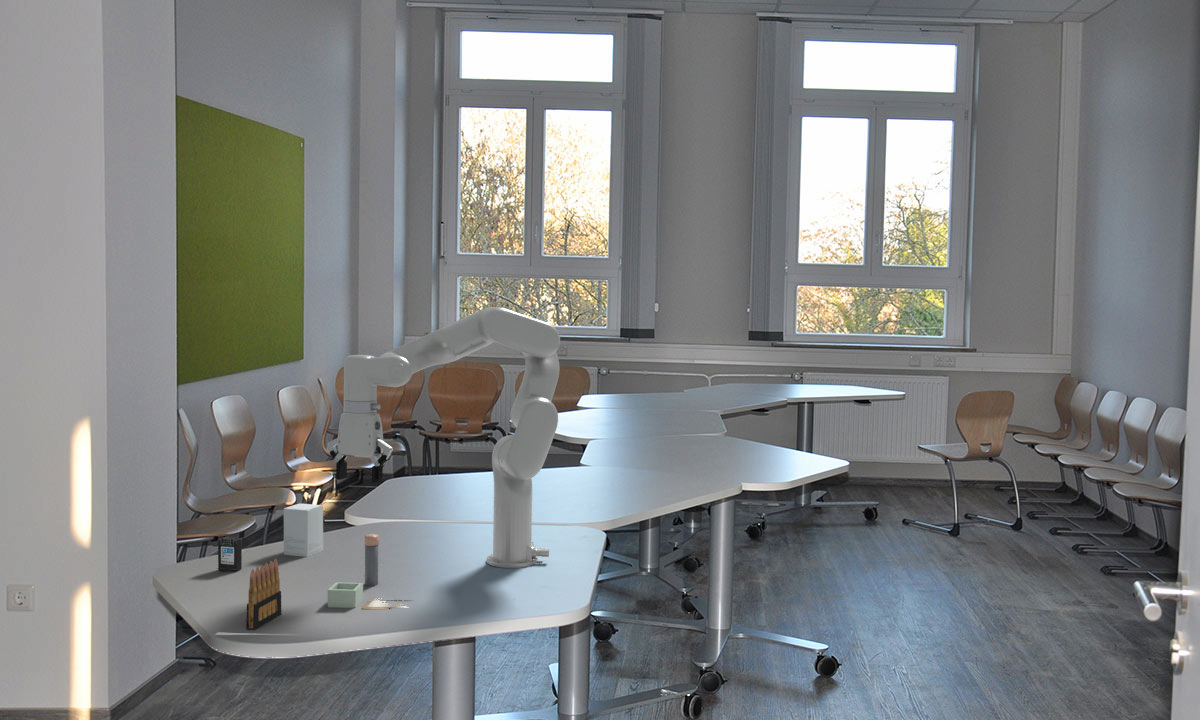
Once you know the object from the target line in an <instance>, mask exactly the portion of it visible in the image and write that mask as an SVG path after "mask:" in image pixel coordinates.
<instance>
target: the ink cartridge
mask: <svg viewBox="0 0 1200 720" xmlns="http://www.w3.org/2000/svg"><path fill="white" fill-rule="evenodd" d="M242 545H243V544H242V538H240V537H237V536H234V537H231V536H224V537H221V538H219V539H218V540H217V556H218V557H217V559H218V560H217V562H218V564H217V565H218V566H217V567H218V568H217V569H218V570H217V571H219V572H220V571H221V572H226V573H227V572H228V573H229V572H230V573H236V572H238V571H240V570H242V569H243V566H242V564H243V562H242V559H243V557H242V554H243V553H242V548H243V546H242Z"/></svg>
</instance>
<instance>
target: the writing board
mask: <svg viewBox="0 0 1200 720" xmlns="http://www.w3.org/2000/svg"><path fill="white" fill-rule="evenodd" d="M376 599H377V598H374V599H373V601H372V602H371V601H366V602H365V603H364V604H363V606H362V607H361V610H390V609H389V608H391V609H410V607H408V606H407V605H405V606H401V605H404V604H403V603H400V604H395V603H393V604H395V605H391V604H389V603H385V602H386V601H396V602H413V601H412V600H410V599H392V600H386V601H385V600H384V601H383V600H382V598H381V599H380V598H378V599H380V600H378V599H377V600H376ZM397 600H398V601H397ZM402 600H404V601H402ZM382 602H384V603H382ZM388 604H389V605H388ZM399 605H400V606H399Z"/></svg>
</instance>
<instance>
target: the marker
mask: <svg viewBox="0 0 1200 720" xmlns="http://www.w3.org/2000/svg"><path fill="white" fill-rule="evenodd" d="M379 545H380V535H379V534H376V533H368V534H365V535H364V586H365V587H375V585H376V586H378V585H379Z"/></svg>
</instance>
